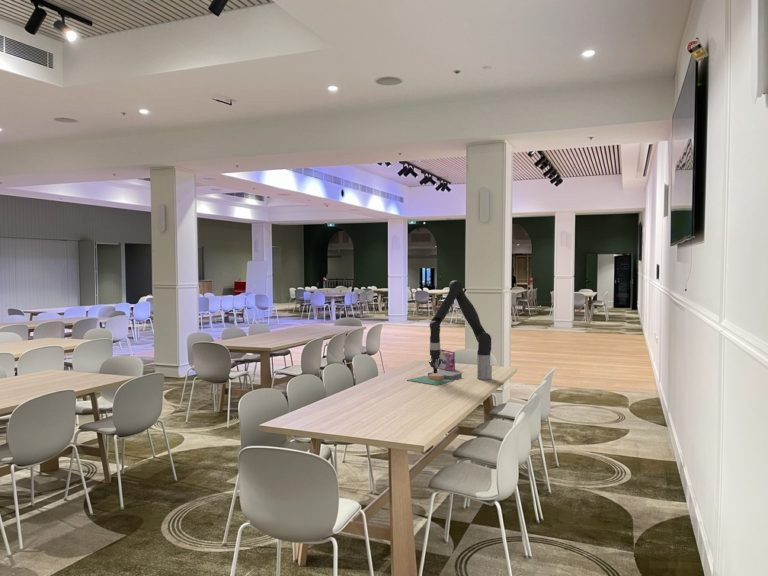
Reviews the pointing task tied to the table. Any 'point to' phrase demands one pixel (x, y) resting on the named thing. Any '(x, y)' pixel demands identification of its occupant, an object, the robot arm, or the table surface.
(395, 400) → the table surface
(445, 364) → the gum box
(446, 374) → the gray riser
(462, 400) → the table surface
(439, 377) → the coral tile
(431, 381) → the green mat
